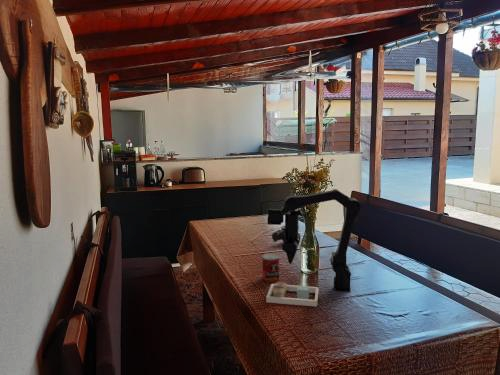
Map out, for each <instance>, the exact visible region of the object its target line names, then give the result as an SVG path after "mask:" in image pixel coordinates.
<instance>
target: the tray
mask: <svg viewBox="0 0 500 375" xmlns="http://www.w3.org/2000/svg"><path fill="white" fill-rule="evenodd" d="M275 285H276V283H271V284H270V286H269V289H268V291H267V294H266V296H265V298H266V299H265V301H266V302H265V303H270V304H280V305H281V304H283V305H295V306H307V307H318V300H319V299H318V298H319V287H318V286H309V293H310V294H311V293H312V294H315V295H314V299H309V298H308V299H297V297H295V298H294V297H285V296H284V297H274V296H273V294H274V289H275ZM297 287H298V285H292V284H287V287H286V292H287V291H288V292H296V293H297Z"/></svg>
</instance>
